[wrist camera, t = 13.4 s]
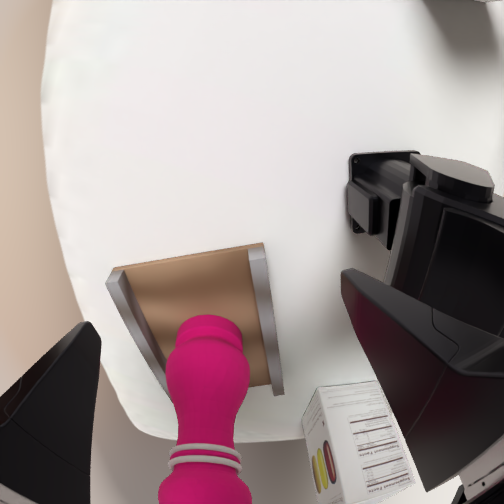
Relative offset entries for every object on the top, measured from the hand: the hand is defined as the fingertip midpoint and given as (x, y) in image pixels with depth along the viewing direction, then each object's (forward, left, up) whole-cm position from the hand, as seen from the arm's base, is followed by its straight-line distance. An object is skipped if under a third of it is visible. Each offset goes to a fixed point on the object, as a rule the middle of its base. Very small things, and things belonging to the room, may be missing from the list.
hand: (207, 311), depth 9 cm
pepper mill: (+4, +14, -13) cm, 19 cm away
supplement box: (-10, +32, -13) cm, 36 cm away
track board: (+4, +14, -13) cm, 19 cm away
